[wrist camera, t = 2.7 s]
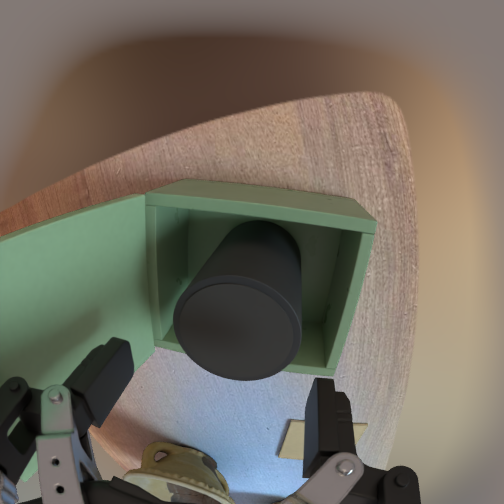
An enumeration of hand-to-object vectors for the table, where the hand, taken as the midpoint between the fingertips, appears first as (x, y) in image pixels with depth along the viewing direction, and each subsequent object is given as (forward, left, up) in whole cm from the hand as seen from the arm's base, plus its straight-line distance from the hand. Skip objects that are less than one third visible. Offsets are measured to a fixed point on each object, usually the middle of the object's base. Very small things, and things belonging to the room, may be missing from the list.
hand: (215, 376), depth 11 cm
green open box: (0, 0, -14) cm, 14 cm away
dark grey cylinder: (0, 0, -13) cm, 13 cm away
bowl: (+7, +37, -14) cm, 40 cm away
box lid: (+8, 0, +1) cm, 8 cm away
